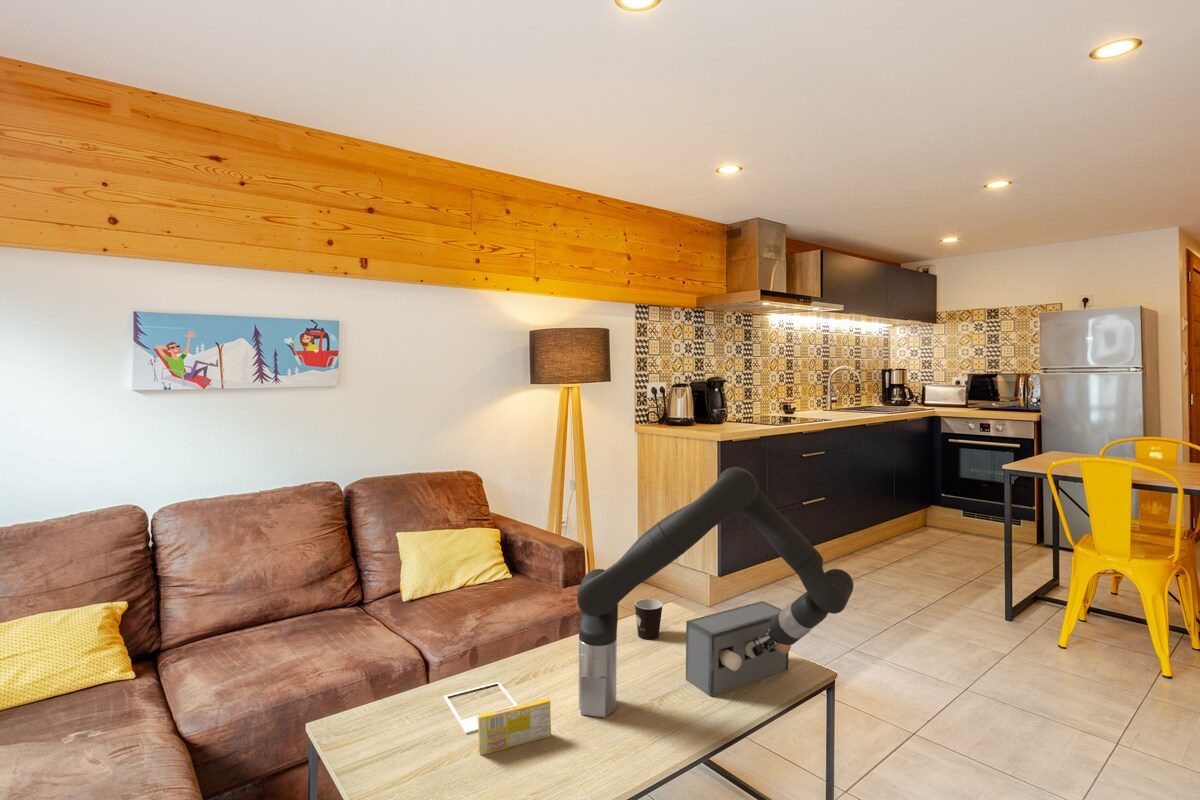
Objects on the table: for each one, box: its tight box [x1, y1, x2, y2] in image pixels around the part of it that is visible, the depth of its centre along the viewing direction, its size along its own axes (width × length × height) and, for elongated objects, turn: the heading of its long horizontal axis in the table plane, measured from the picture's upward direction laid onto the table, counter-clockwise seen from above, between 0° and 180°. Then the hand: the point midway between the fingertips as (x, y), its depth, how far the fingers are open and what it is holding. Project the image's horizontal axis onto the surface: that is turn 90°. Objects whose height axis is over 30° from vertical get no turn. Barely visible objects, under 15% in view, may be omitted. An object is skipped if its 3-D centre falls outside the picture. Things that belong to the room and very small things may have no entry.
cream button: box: [719, 649, 742, 671], centre depth 160 cm, size 7×4×4 cm, turn 31°
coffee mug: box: [634, 598, 664, 641], centre depth 195 cm, size 12×9×10 cm
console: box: [685, 600, 790, 697], centre depth 169 cm, size 10×28×16 cm, turn 121°
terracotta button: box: [773, 644, 792, 654], centre depth 169 cm, size 7×4×4 cm, turn 31°
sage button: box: [745, 640, 757, 658], centre depth 167 cm, size 7×4×4 cm, turn 31°
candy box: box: [477, 697, 552, 756], centre depth 138 cm, size 16×2×8 cm, turn 115°
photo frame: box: [443, 681, 518, 735], centre depth 153 cm, size 15×1×18 cm
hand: (755, 652), depth 163 cm, fingers closed
